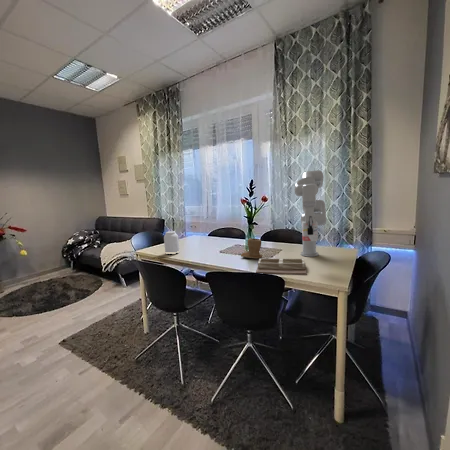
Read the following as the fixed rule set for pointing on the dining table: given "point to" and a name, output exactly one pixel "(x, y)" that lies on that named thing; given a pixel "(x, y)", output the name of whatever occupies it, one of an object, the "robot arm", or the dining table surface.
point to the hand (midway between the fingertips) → (309, 233)
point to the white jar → (171, 242)
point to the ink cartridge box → (305, 231)
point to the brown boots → (253, 249)
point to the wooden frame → (281, 266)
